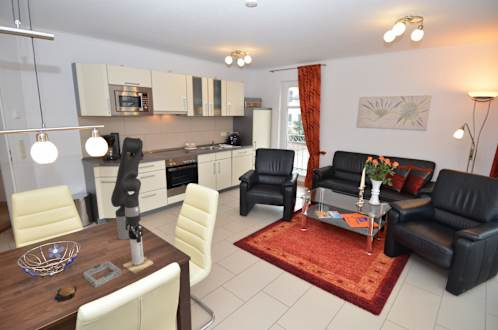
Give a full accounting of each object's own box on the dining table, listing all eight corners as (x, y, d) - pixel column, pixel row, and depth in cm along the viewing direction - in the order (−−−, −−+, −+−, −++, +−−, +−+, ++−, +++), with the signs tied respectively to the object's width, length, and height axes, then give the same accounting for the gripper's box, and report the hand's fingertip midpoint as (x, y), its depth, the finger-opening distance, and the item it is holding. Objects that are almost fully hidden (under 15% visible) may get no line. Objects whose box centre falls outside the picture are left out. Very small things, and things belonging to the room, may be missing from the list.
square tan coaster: (122, 266, 147) (122, 264, 147) (141, 256, 157) (141, 255, 157) (134, 274, 141) (133, 272, 140) (153, 263, 150) (153, 262, 150)
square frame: (84, 277, 137) (83, 270, 136) (109, 265, 148) (108, 259, 147) (95, 287, 130) (94, 280, 129) (121, 274, 140) (120, 267, 139)
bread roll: (57, 291, 128) (56, 284, 127) (77, 285, 132) (76, 279, 131) (53, 305, 119) (52, 298, 118) (75, 298, 123) (74, 292, 122)
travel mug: (131, 261, 150) (128, 230, 146) (143, 258, 153) (140, 228, 149) (132, 267, 145) (128, 235, 140) (144, 264, 148) (141, 232, 143)
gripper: (146, 214, 140) (148, 241, 144) (132, 208, 148) (134, 233, 152) (133, 219, 134) (135, 246, 138) (119, 212, 143) (122, 238, 146)
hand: (134, 239), depth 145 cm, fingers open, 8 cm apart
